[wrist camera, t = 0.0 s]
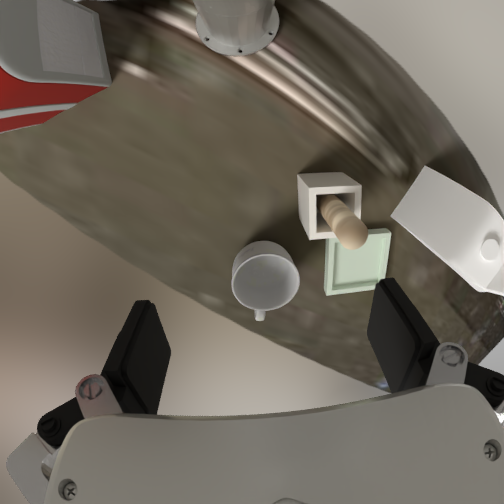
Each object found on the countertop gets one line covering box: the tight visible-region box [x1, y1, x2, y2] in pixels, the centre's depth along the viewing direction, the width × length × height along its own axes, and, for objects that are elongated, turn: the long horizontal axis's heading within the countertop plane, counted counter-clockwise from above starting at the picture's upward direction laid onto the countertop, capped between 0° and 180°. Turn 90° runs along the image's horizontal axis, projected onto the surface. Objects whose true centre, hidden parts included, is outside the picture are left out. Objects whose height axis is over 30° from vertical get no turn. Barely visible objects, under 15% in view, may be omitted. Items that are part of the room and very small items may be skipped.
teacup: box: [232, 241, 300, 321], centre depth 50 cm, size 14×11×8 cm
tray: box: [324, 228, 391, 295], centre depth 52 cm, size 12×12×2 cm
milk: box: [391, 166, 504, 296], centre depth 36 cm, size 12×12×26 cm
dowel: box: [316, 194, 368, 250], centre depth 39 cm, size 4×4×16 cm
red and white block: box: [0, 0, 112, 133], centre depth 22 cm, size 17×18×27 cm
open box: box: [297, 172, 362, 240], centre depth 43 cm, size 8×8×9 cm
